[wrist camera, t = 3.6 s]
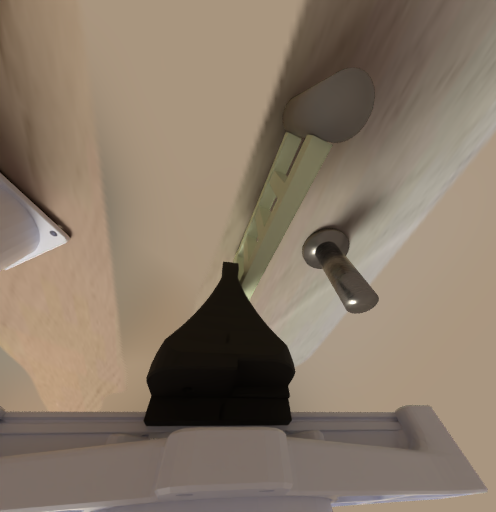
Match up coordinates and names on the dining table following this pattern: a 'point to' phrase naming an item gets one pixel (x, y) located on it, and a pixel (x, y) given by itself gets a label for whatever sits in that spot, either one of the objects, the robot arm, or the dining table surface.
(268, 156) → the dining table surface
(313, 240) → the post
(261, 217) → the gate
